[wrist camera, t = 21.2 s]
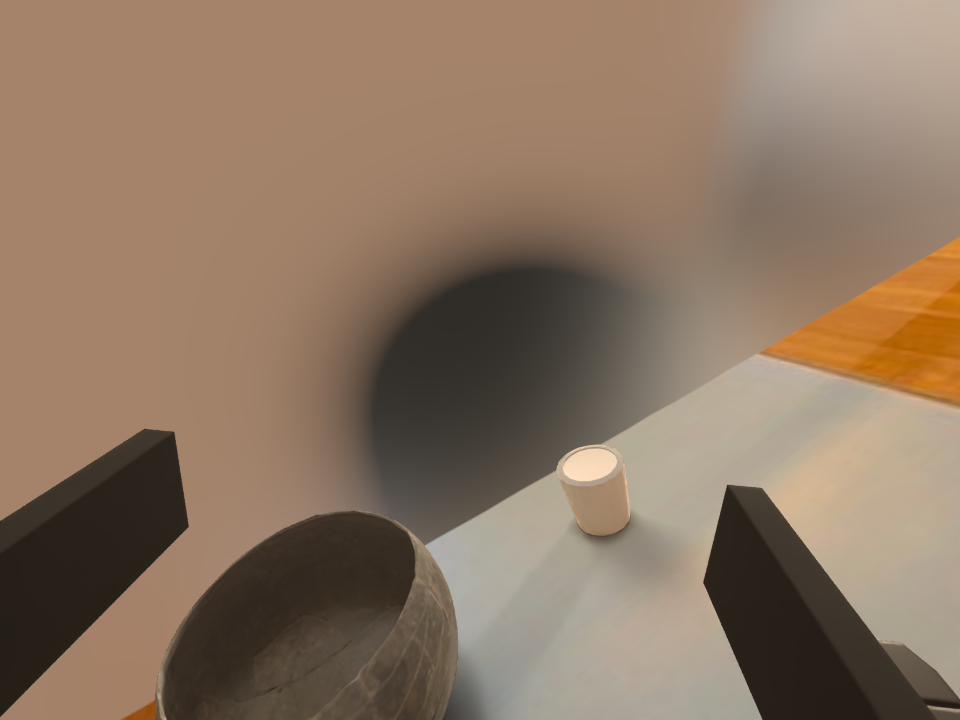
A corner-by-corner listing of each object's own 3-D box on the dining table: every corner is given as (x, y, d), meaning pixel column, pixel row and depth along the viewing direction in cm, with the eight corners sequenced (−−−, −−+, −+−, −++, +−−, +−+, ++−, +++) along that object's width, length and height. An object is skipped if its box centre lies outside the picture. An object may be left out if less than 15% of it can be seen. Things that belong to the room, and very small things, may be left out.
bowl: (197, 782, 42) (92, 658, 36) (379, 590, 55) (322, 478, 50) (344, 995, 29) (212, 849, 23) (538, 672, 42) (484, 531, 36)
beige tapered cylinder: (586, 549, 52) (571, 494, 49) (562, 509, 58) (547, 459, 56) (648, 524, 53) (636, 468, 50) (618, 487, 59) (605, 436, 56)
